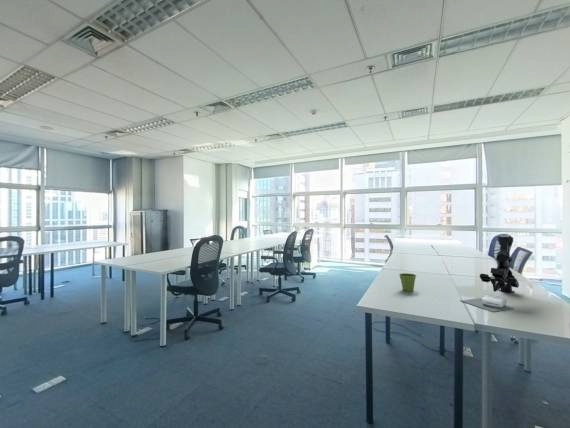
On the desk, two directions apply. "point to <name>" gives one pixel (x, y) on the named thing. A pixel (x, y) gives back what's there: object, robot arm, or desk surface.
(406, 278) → the plant pot
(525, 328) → the desk surface
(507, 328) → the desk surface
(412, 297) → the desk surface
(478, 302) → the mat
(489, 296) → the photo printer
